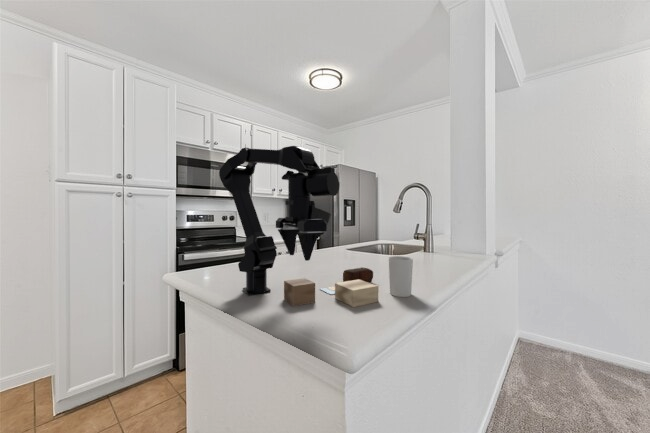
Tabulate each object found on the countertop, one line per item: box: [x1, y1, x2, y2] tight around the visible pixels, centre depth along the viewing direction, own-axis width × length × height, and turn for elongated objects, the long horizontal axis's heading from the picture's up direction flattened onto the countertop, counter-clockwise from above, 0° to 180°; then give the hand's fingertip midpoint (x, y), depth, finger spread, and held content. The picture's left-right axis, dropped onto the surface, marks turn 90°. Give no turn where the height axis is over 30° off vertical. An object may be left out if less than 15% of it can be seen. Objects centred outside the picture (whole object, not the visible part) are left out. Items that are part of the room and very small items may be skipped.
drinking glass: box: [388, 255, 414, 298], centre depth 76 cm, size 7×7×10 cm
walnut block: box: [283, 277, 316, 307], centre depth 70 cm, size 6×6×5 cm
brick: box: [342, 267, 374, 283], centre depth 86 cm, size 11×4×5 cm, turn 135°
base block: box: [334, 279, 379, 308], centre depth 71 cm, size 8×8×4 cm
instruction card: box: [319, 285, 335, 296], centre depth 80 cm, size 6×9×1 cm, turn 121°
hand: (299, 257), depth 70 cm, fingers open, 9 cm apart
